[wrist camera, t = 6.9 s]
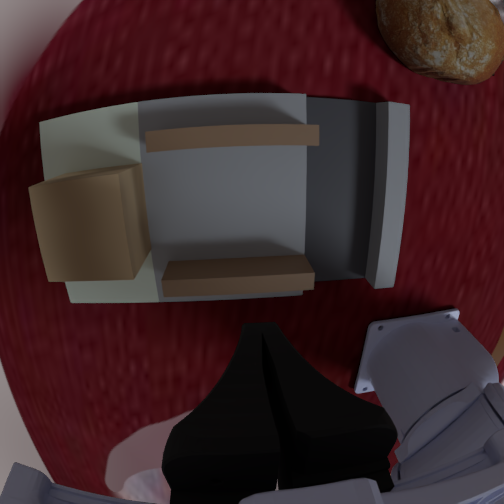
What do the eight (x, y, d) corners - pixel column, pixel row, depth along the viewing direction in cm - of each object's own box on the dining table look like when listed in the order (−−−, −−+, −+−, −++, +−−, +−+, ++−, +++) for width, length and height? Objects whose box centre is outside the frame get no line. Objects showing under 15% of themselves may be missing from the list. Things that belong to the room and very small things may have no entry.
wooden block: (142, 163, 16) (118, 173, 12) (151, 248, 18) (134, 279, 14) (64, 173, 16) (28, 187, 12) (77, 252, 18) (48, 281, 14)
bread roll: (382, -26, 16) (378, -82, 9) (496, 15, 14) (528, -27, 7) (363, 68, 20) (358, 27, 13) (486, 115, 17) (531, 96, 10)
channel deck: (394, 105, 18) (432, 104, 14) (381, 274, 22) (409, 305, 18) (54, 121, 16) (16, 123, 12) (81, 289, 21) (56, 322, 17)
